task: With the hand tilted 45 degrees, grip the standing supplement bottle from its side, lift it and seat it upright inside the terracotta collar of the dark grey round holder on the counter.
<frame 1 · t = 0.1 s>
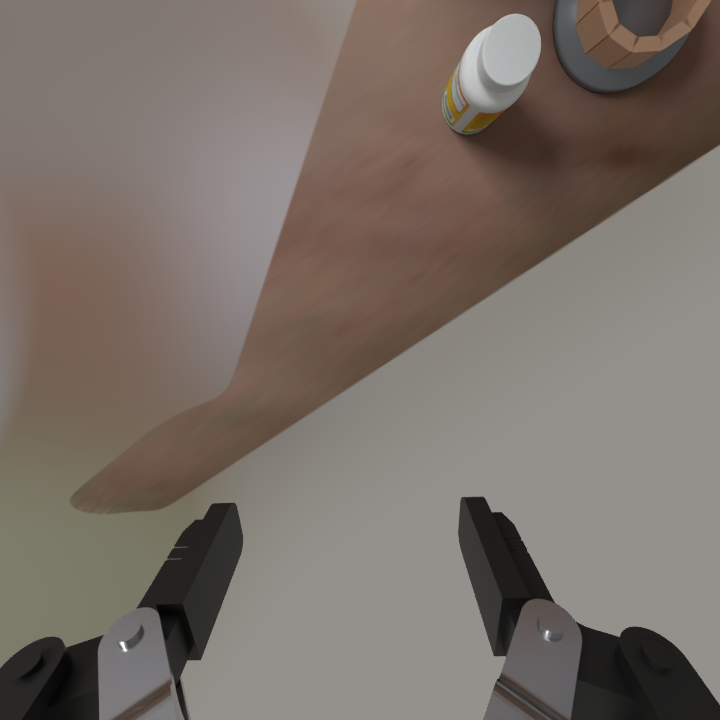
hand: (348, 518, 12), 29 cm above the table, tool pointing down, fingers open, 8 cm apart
holder: (622, 10, 30), on the table
supplement bottle: (468, 103, 33), on the table
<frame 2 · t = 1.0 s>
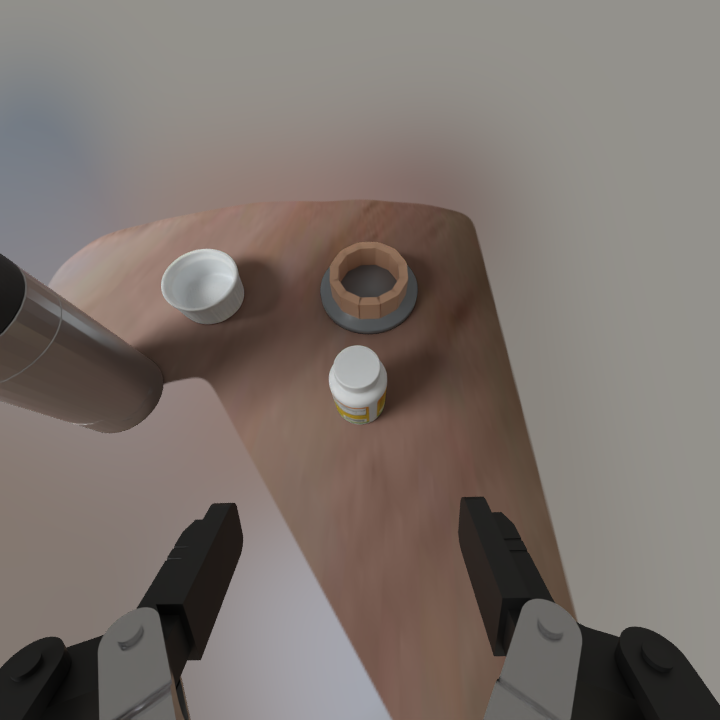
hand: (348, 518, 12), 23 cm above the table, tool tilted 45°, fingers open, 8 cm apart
holder: (368, 292, 44), on the table
supplement bottle: (360, 401, 38), on the table
ramekin: (215, 299, 44), on the table
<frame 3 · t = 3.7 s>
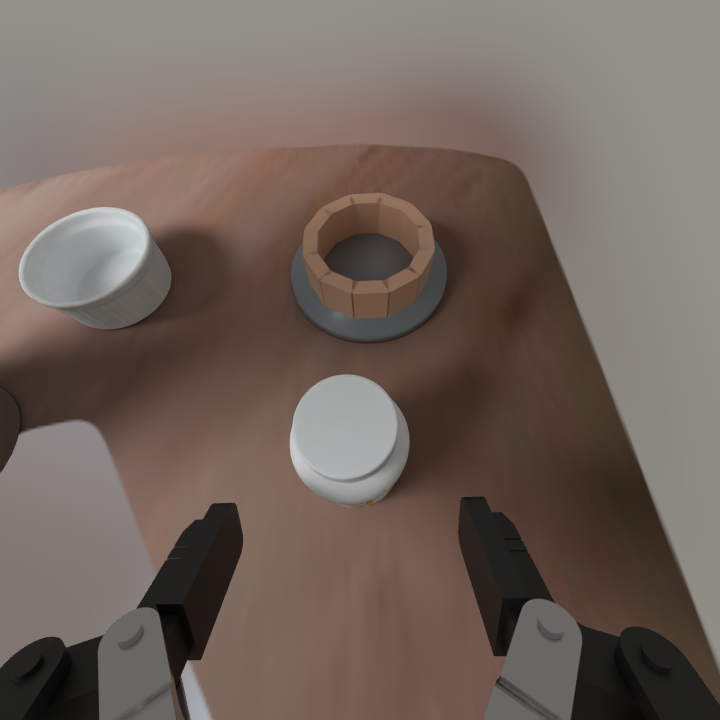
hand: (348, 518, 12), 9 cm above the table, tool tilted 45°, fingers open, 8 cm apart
holder: (368, 276, 27), on the table
supplement bottle: (356, 461, 22), on the table
ramekin: (126, 290, 28), on the table
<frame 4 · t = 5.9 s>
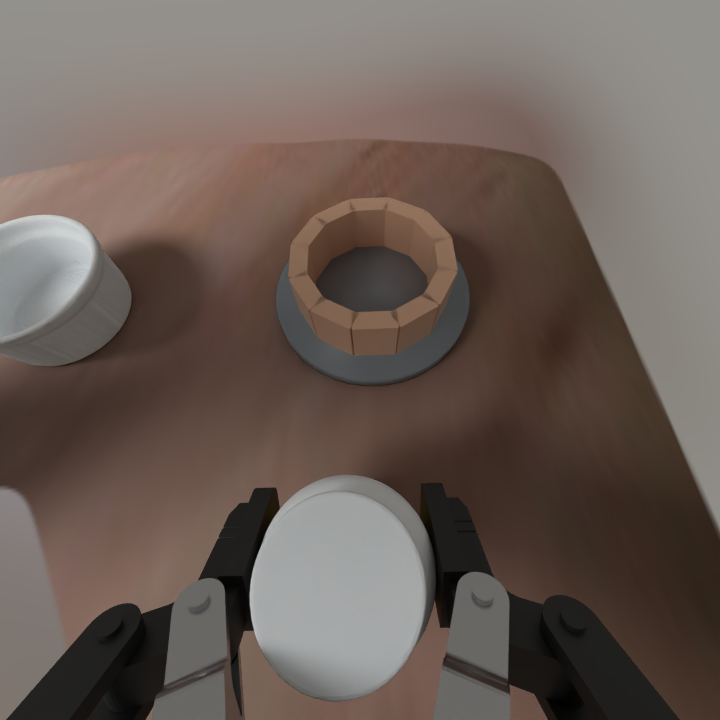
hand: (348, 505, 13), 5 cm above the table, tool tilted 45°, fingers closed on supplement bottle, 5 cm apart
holder: (371, 299, 22), on the table
supplement bottle: (356, 549, 17), on the table, touching gripper
ramekin: (77, 316, 23), on the table
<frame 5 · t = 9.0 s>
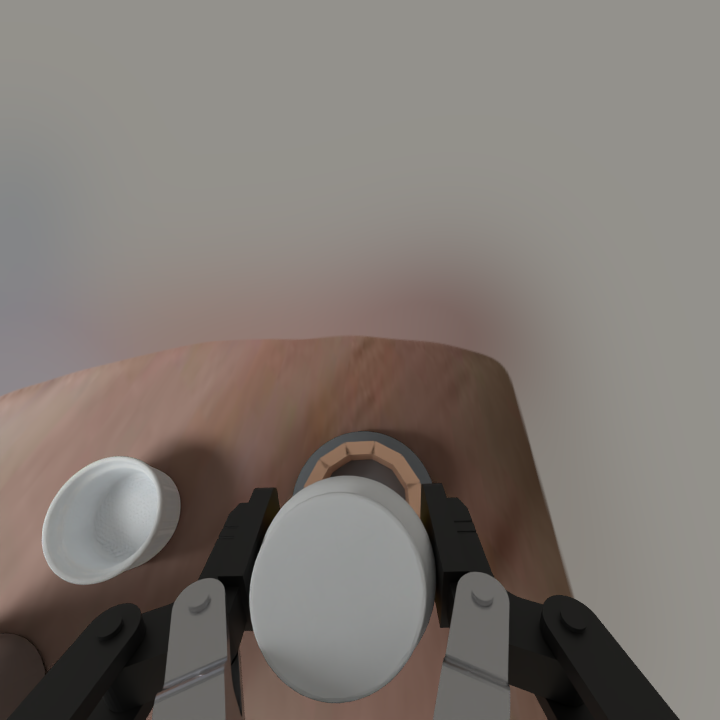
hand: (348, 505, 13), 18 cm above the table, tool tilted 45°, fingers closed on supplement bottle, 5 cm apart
holder: (363, 503, 29), on the table
supplement bottle: (356, 549, 17), point 13 cm above the table, touching gripper
ramekin: (139, 516, 30), on the table
when the fingers open (7 cm above the table, at t = 11.9 s): supplement bottle drops 1 cm, resting on holder.
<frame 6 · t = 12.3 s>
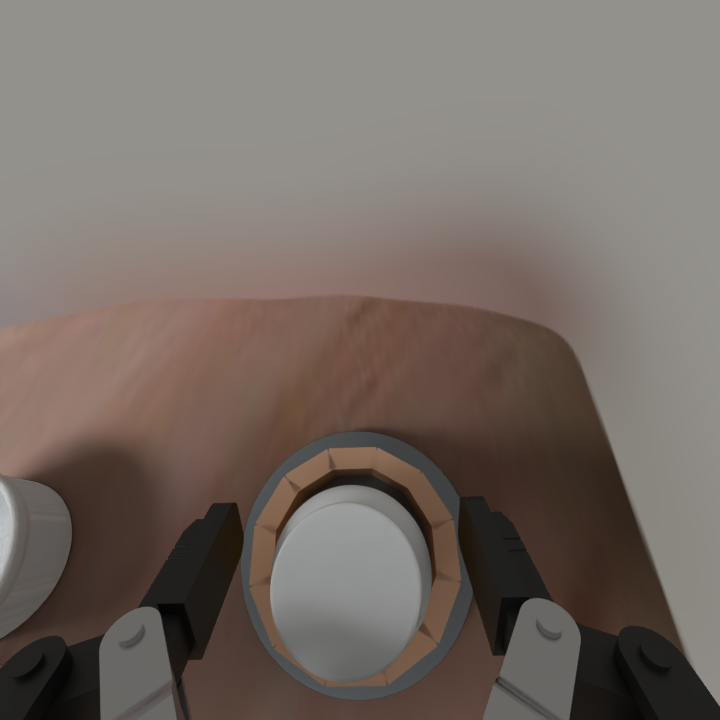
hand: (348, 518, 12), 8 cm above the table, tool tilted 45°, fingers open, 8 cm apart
holder: (357, 545, 19), on the table
supplement bottle: (358, 551, 18), point 1 cm above the table, touching holder
ramekin: (7, 557, 19), on the table
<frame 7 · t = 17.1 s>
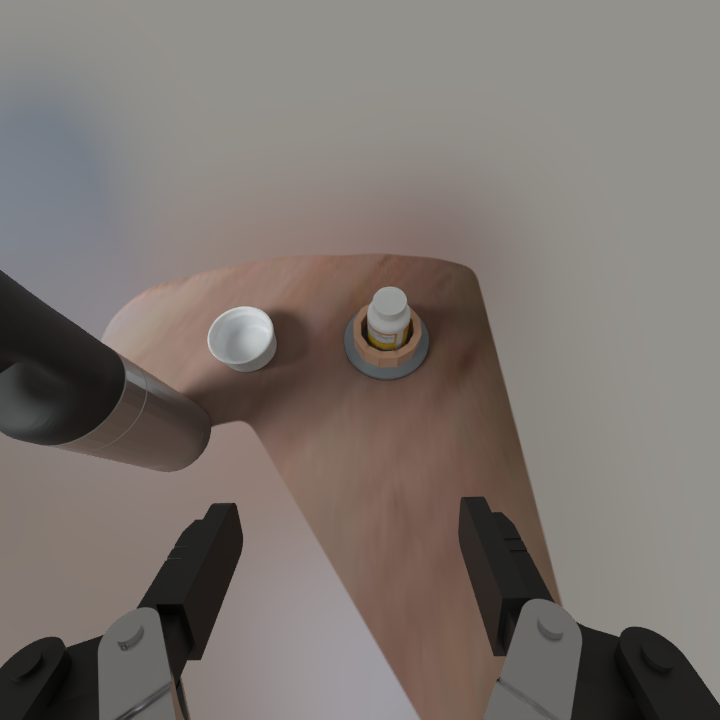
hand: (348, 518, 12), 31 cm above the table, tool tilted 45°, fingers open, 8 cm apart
holder: (386, 341, 50), on the table
supplement bottle: (386, 340, 49), point 1 cm above the table, touching holder
ramekin: (251, 348, 50), on the table
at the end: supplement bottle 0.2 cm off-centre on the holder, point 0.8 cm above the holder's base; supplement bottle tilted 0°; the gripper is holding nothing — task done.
